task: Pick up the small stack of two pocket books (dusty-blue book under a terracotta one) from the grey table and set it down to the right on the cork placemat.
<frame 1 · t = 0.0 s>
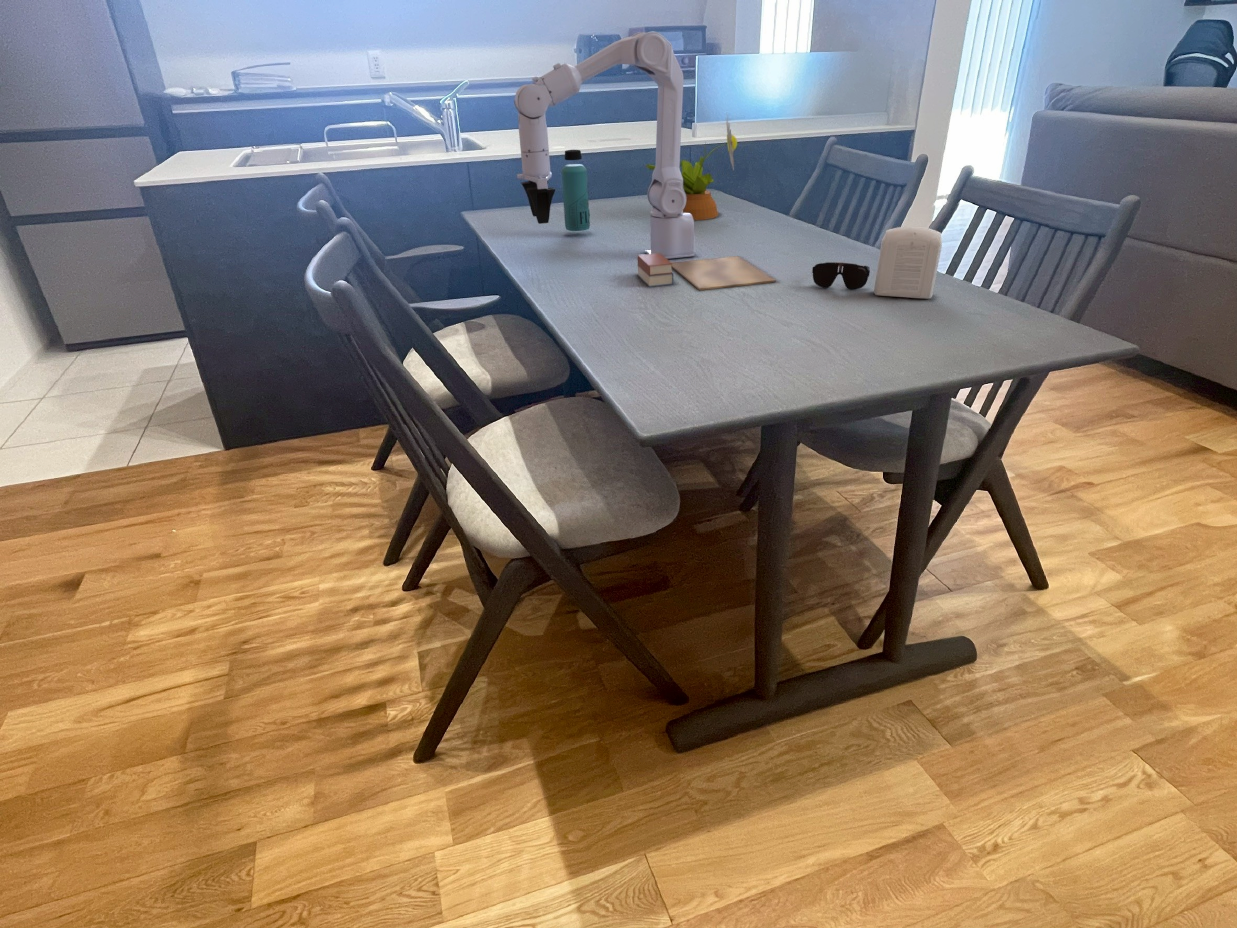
hand: (540, 219, 157), 10 cm above the table, tool pointing down, fingers open, 7 cm apart
sunglasses: (840, 282, 146), on the table
book stack: (655, 279, 151), on the table
decorative plant: (689, 215, 205), on the table
beverage bottle: (577, 235, 189), on the table
cork mat: (719, 273, 154), on the table
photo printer: (902, 296, 137), on the table
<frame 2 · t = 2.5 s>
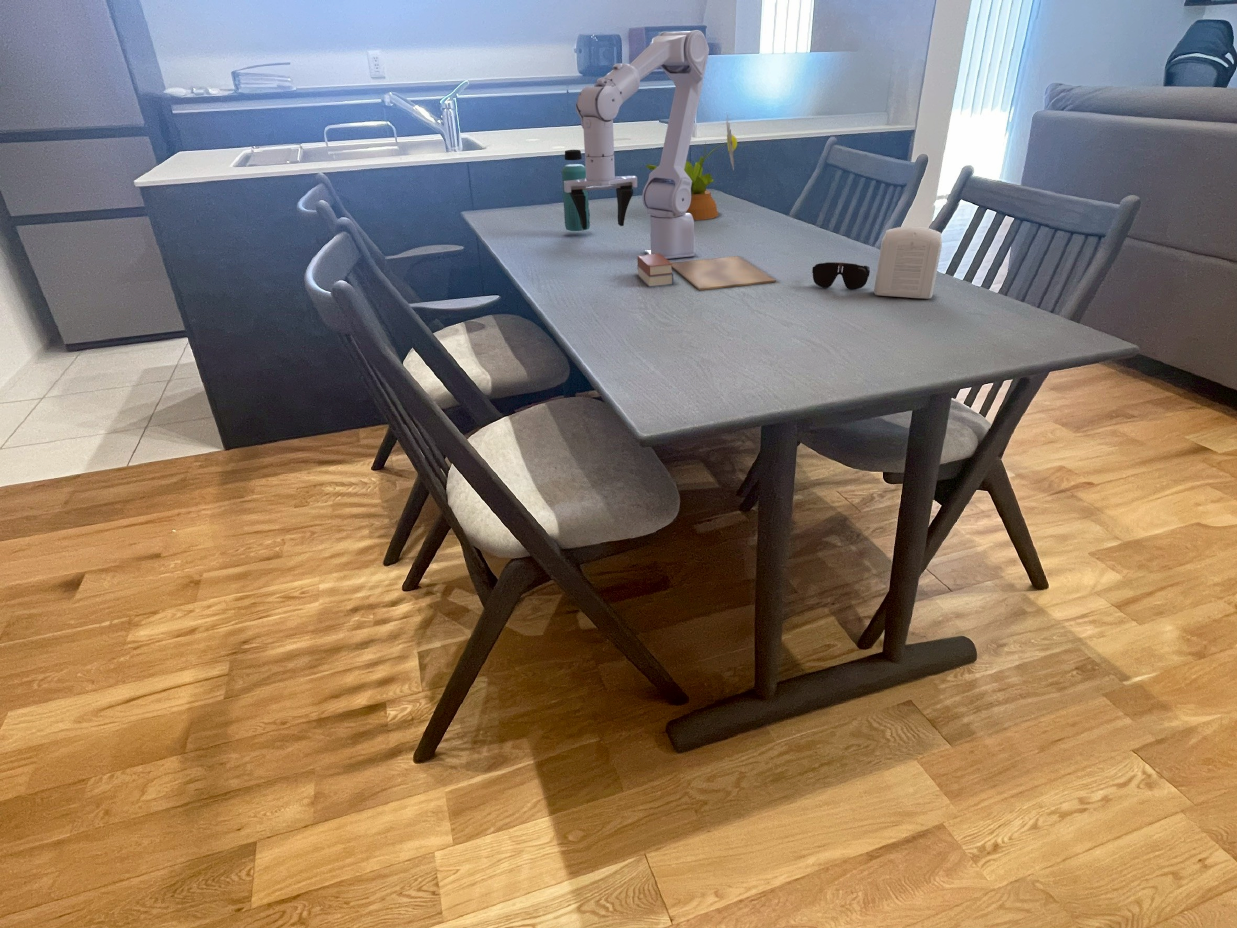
hand: (602, 226, 151), 10 cm above the table, tool pointing down, fingers open, 7 cm apart
nothing on the table moved.
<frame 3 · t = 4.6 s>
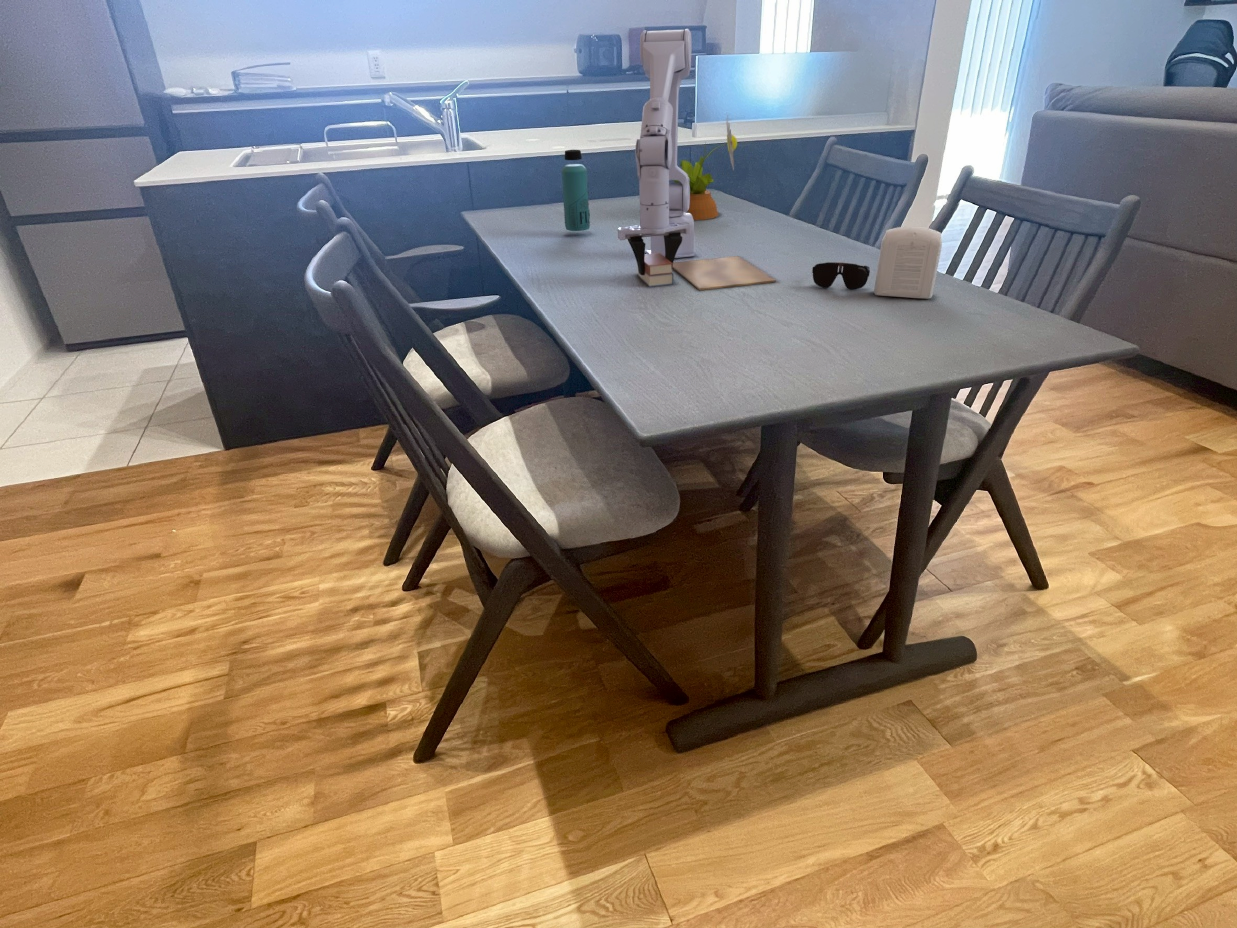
hand: (654, 272, 150), 1 cm above the table, tool pointing down, fingers closed on book stack, 5 cm apart
book stack: (655, 279, 151), on the table, touching gripper
everything else where it was.
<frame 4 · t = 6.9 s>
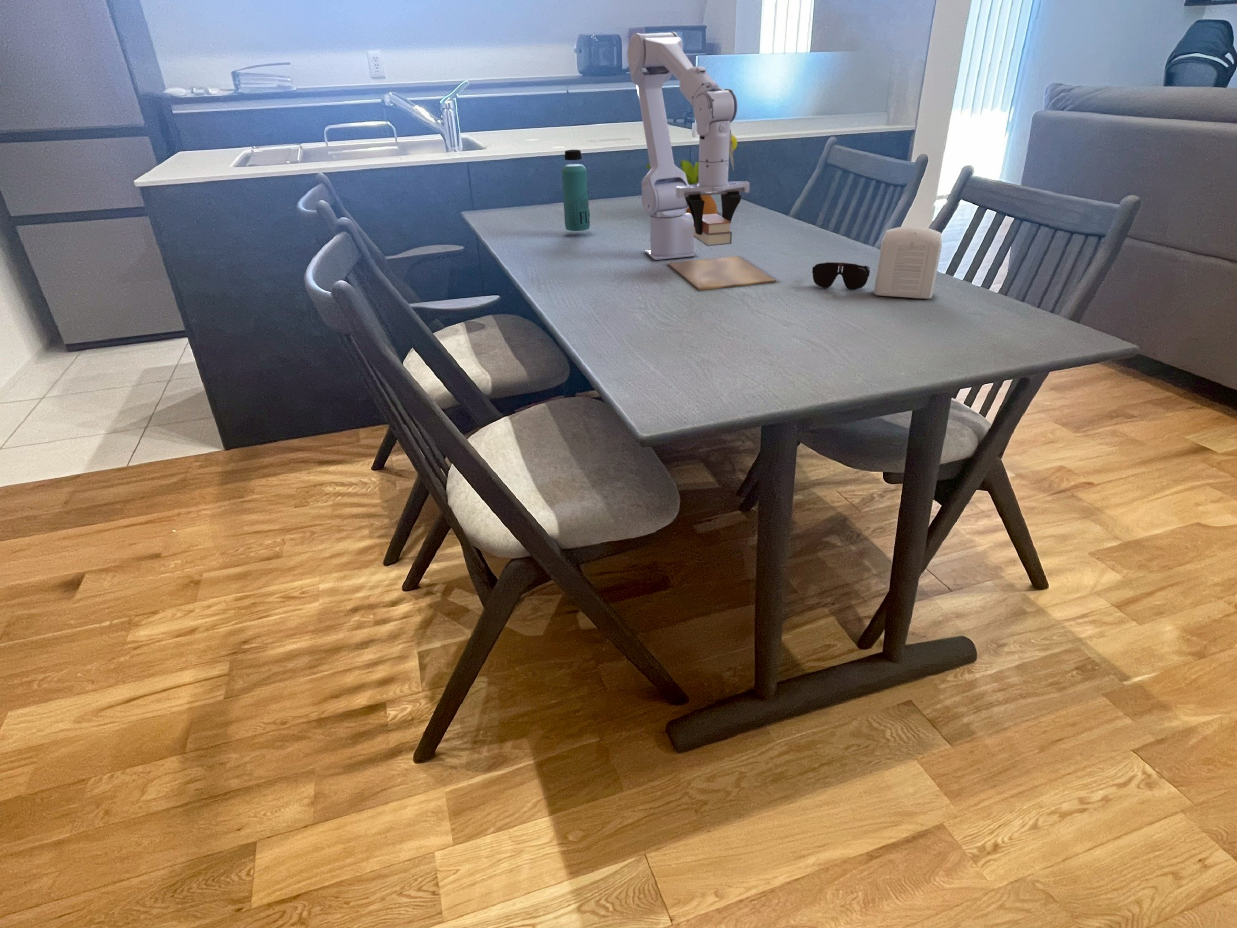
hand: (711, 232, 149), 8 cm above the table, tool pointing down, fingers closed on book stack, 5 cm apart
book stack: (711, 240, 150), point 7 cm above the table, touching gripper
everything else where it was.
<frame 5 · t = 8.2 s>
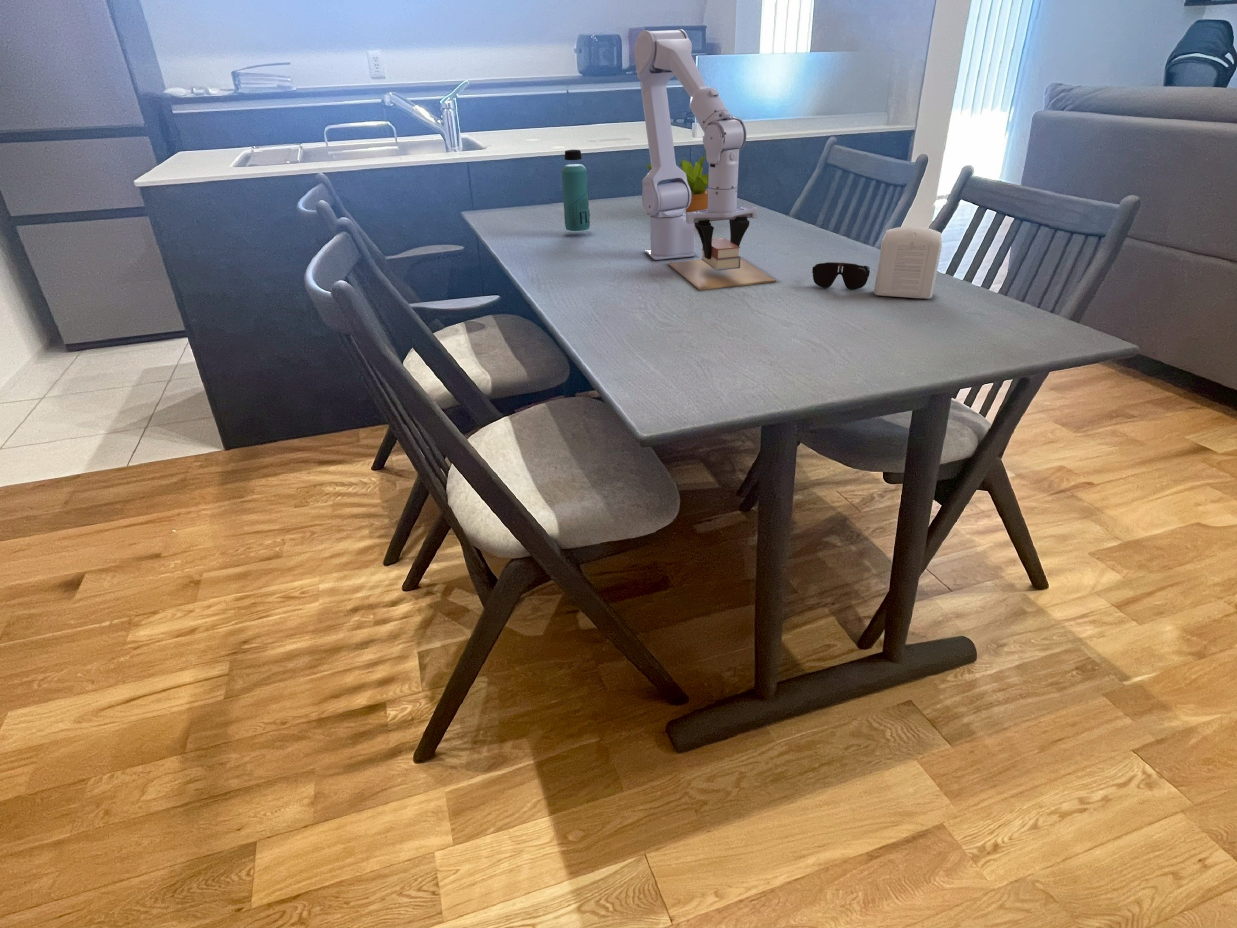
hand: (720, 256, 152), 3 cm above the table, tool pointing down, fingers closed on book stack, 5 cm apart
book stack: (720, 263, 153), point 2 cm above the table, touching gripper
everything else where it was.
when the fingers open (2 cm above the table, at t = 9.2 s): book stack stays where it is, resting on cork mat.
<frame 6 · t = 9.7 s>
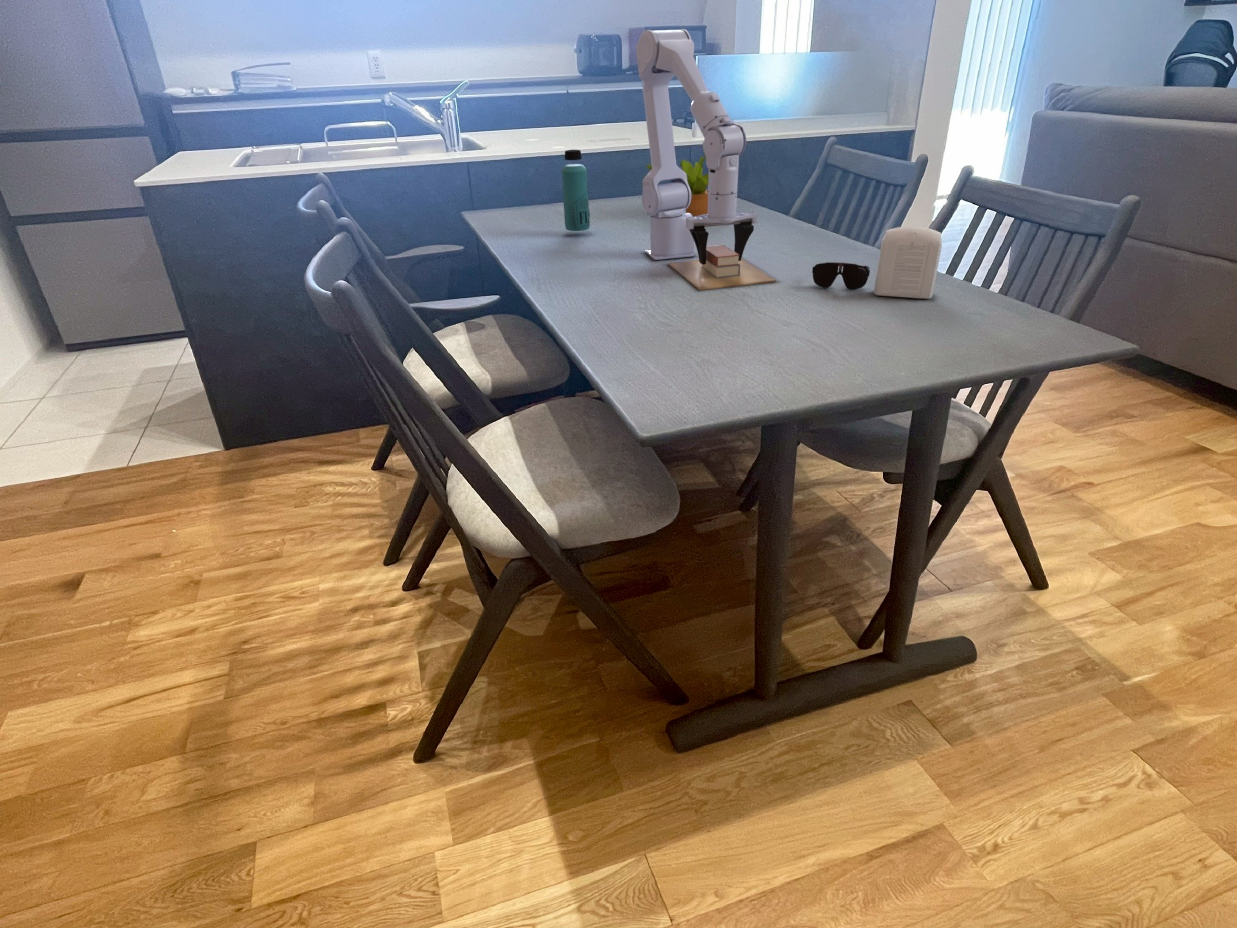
hand: (720, 261, 152), 2 cm above the table, tool pointing down, fingers open, 7 cm apart
book stack: (720, 271, 153), resting on cork mat
everything else where it was.
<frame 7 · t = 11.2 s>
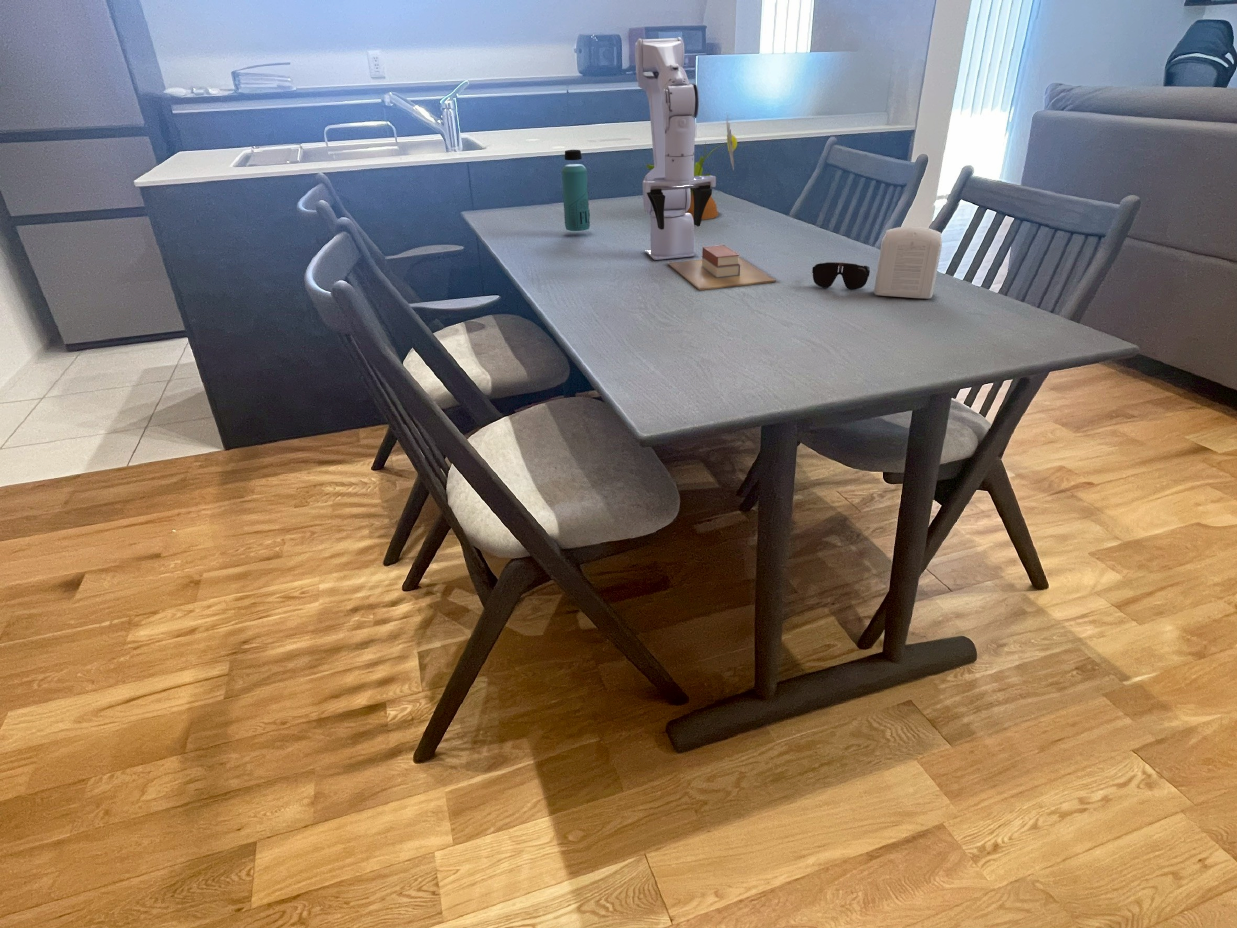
hand: (678, 227, 150), 9 cm above the table, tool pointing down, fingers open, 7 cm apart
nothing on the table moved.
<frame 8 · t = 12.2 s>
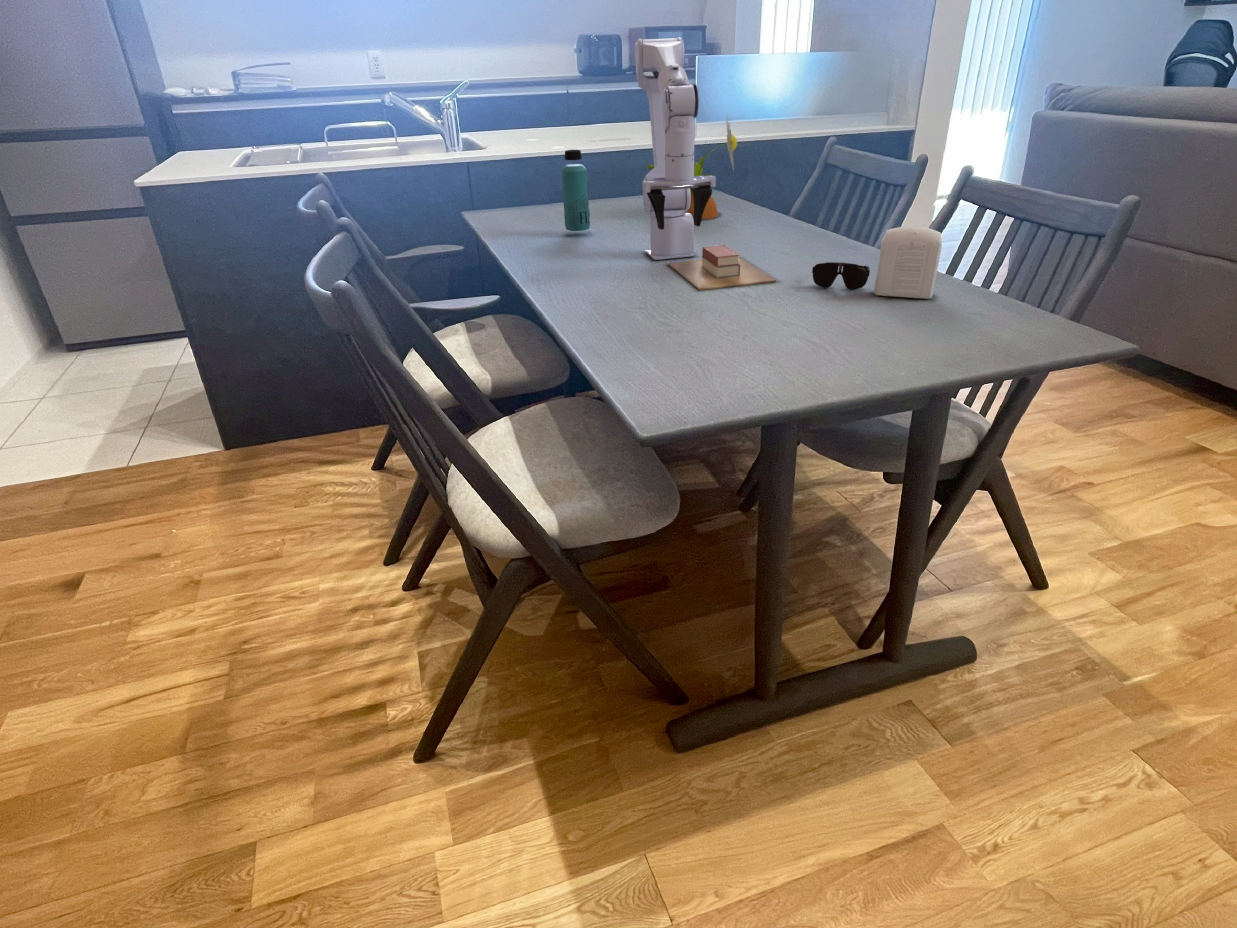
hand: (678, 227, 150), 9 cm above the table, tool pointing down, fingers open, 7 cm apart
nothing on the table moved.
at the end: book stack inside the target area on the cork mat (0.1 cm from its centre), point 0.4 cm above the cork mat's base; book stack tilted 0°; the gripper is holding nothing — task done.
